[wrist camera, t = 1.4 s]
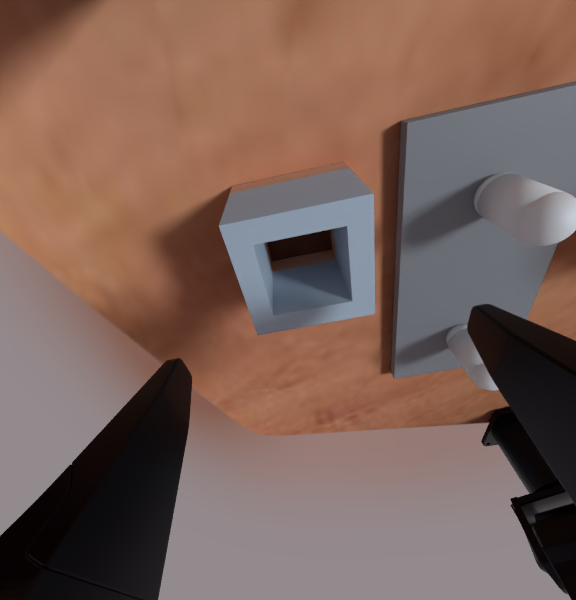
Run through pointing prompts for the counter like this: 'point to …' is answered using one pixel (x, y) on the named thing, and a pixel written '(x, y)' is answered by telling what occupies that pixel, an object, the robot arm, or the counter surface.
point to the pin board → (478, 221)
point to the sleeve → (307, 268)
